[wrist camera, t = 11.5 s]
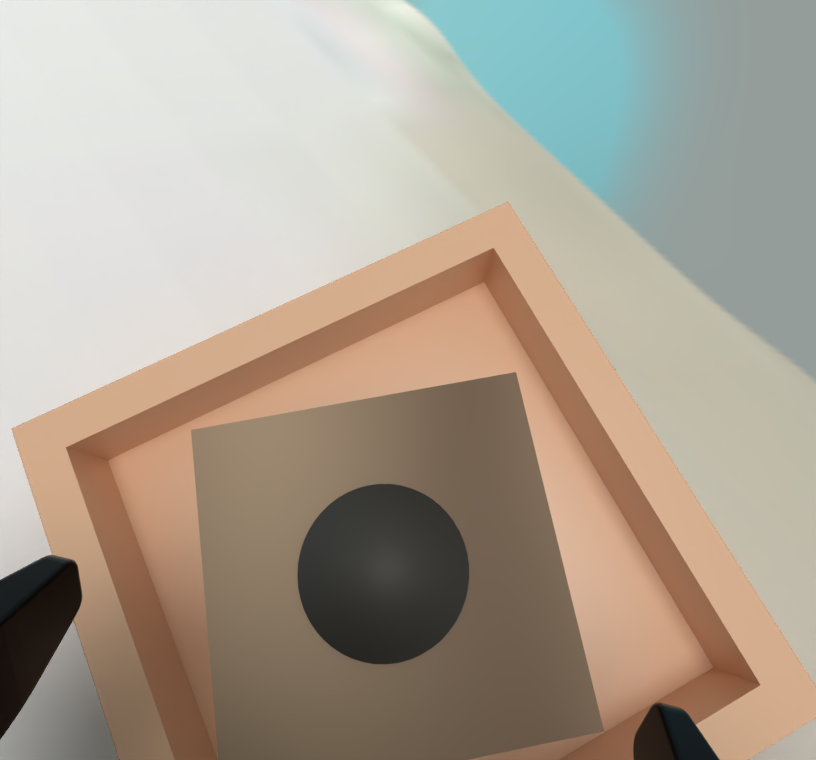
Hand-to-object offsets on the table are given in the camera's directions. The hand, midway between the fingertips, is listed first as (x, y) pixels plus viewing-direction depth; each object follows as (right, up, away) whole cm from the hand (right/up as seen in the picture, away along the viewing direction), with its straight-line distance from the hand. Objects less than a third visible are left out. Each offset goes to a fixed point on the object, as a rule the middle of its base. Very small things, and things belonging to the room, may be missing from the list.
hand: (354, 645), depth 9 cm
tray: (0, -2, +9) cm, 10 cm away
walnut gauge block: (0, -1, +9) cm, 9 cm away
